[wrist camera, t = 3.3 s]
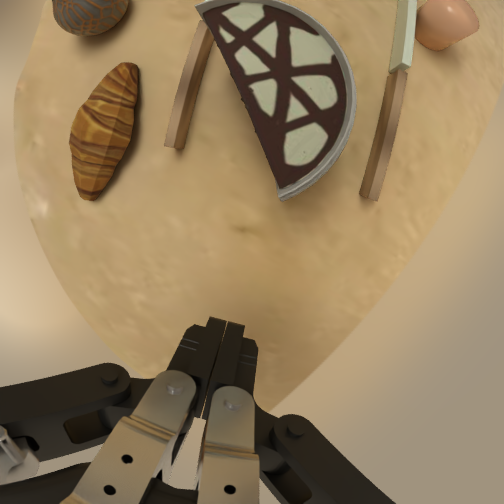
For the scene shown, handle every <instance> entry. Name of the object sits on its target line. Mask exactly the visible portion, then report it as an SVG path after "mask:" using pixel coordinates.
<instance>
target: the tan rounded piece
mask: <svg viewBox="0 0 504 504" xmlns="http://www.w3.org/2000/svg"><path fill="white" fill-rule="evenodd" d="M478 29H479V21H478V18H477V16H476V14H475V12H474V10H473V9H472V8H471V6H470V5H469V4H468V3H467V2H466V1H465V0H428V1H427V2H425V3H424V4H423V5H422V6H421V7H420V8H419V9H418V10H417V11H416V25H415V38H416V39H417V40H418V41H419V42H420V43H421V44H422V45H424V46H425V47H427V48H429V49H431V50H435V51H440V50H443V49H445V48H446V47H448V46H450V45H452V44H454V43H456V42H458V41H460V40H461V39H463V38H465V37H467V36H469V35H471V34H473V33H475V32H477V31H478Z"/></svg>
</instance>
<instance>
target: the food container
mask: <svg viewBox="0 0 504 504" xmlns="http://www.w3.org/2000/svg"><path fill="white" fill-rule="evenodd" d="M194 6H195V8H196V9H197V11H198V12H199V14H200V16H201V17H202V19H203V21H204V22H205V24H206V26H207V27H208V29H209V31H210V32H211V34H212V36H213V37H214V40H215V41H216V43H217V46H218V48H219V49H220V51H221V53H222V55H223V57H224V59H225V61H226V64H227V66H228V68H229V70H230V74H231V76H232V78H233V79H234V81H235V83H236V85H237V88H238V90H239V92H240V94H241V97H242V98H241V100H242V101H243V102H244V103H245V107H246V109H247V110H248V113H249V115H250V117H251V120H252V122H253V125H254V127H255V132H256V133H257V135H258V137H259V140H260V142H261V145H262V147H263V150H264V152H265V155H266V158H267V160H268V162H269V165H270V167H271V169H272V172H273V174H274V177H275V180H276V186H277V192H278V197H279V198H280V201H282V202H283V201H285V200H287V199H289V198H291V197H294V196H296V195H298V194H300V193H301V192H303V191H304V190H306V189H307V188H309V187H310V186H312V185H313V184H314V183H316V182H317V181H318V180H319V179H320V178H321V177H322V176H323V175H325V174H326V173H327V172H328V170H329V169H330V168H331V167H332V165H333V164H334V163H335V162H336V160H337V159H338V158H339V156H340V154H341V152H342V151H343V149H344V147H345V145H346V143H347V141H348V138H349V135H350V132H351V130H352V127H353V124H354V118H355V112H356V86H355V81H354V76H353V72H352V69H351V66H350V64H349V61H348V59H347V56H346V55H345V53H344V51H343V50H342V48H341V47H340V45H339V43H338V42H337V41H336V40H335V38H334V37H333V36H332V35H331V34H330V33H329V31H328V30H327V29H326V28H325V27H324V26H323V25H322V24H320V23H319V22H318V21H317V20H316V19H314V18H313V17H312V16H310V15H309V14H307V13H305V12H304V11H302V10H300V9H298V8H297V7H295V6H292V5H290V4H287V3H284V2H282V1H279V0H208V1H205V2H202V3H200V4H197V5H194Z"/></svg>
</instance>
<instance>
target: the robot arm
mask: <svg viewBox="0 0 504 504" xmlns="http://www.w3.org/2000/svg"><path fill="white" fill-rule="evenodd" d="M226 322H227V321H225V320H222V319H218V318H214V317H211V316H210V317H209V320H208V322H207V325H206V327H203V326H199V325H196V324H194V325H193V326H191V327H190V328H188V329H187V330H186V332H185V334H184V336H183V338H182V340H181V342H180V344H179V346H178V348H177V350H176V352H175V354H174V356H173V358H172V360H171V362H170V364H169V366H168V368H167V370H166V371H164V372H161V373H160V374H158V375H157V376H156V378H152V379H139V378H130V376H129V373H128V372H127V371H126V370H125V369H124V368H123V367H121V366H120V365H117V364H113V363H103V364H99V365H95V366H91V367H88V368H84V369H80V370H76V371H72V372H68V373H64V374H60V375H56V376H52V377H48V378H44V379H39V380H34V381H30V382H25V383H20V384H15V385H10V386H5V387H0V504H259V478H260V479H261V480H262V481H263V483H264V484H265V485H266V486H267V488H268V489H269V490H270V491H271V493H272V494H273V495H274V496H275V497H276V498H277V500H278V501H279V502H280V503H281V504H396V503H394V502H393V501H392V500H391V499H390V498H389V497H388V496H386V495H385V494H384V493H383V492H382V491H381V490H380V489H378V488H377V487H376V486H375V485H374V484H373V483H372V482H371V481H370V480H369V479H367V478H366V477H365V476H364V475H363V474H362V473H361V472H360V471H359V470H358V469H357V468H356V467H355V466H354V465H352V464H351V463H350V462H349V461H348V460H347V459H346V458H345V457H344V456H343V455H342V454H341V453H340V452H339V451H338V450H337V449H336V448H335V447H334V446H333V445H332V444H331V443H330V442H329V441H328V440H327V439H326V438H325V437H324V436H323V435H322V434H321V433H320V432H319V430H318V429H316V427H315V426H314V425H313V424H312V423H311V422H310V421H309V420H307V419H306V418H304V417H302V416H299V415H295V414H288V415H284V416H282V417H280V418H277V417H275V416H273V415H271V414H269V413H267V412H265V411H263V410H262V409H261V408H260V407H259V406H258V405H257V404H256V402H255V400H254V397H253V390H254V382H255V373H256V365H257V356H258V347H257V345H256V343H255V340H252V339H248V338H244V337H243V333H244V328H245V325H241V324H237V323H233V322H229V321H228V324H227V327H226ZM225 327H226V330H225ZM224 331H225V334H224ZM223 335H224V337H223ZM222 339H223V340H222ZM221 343H222V344H221ZM206 396H207V398H206ZM205 399H206V402H205ZM204 403H205V406H204ZM203 406H204V411H203V415H202V419H205V420H206V424H205V428H204V432H203V436H202V442H201V447H200V453H199V459H198V465H197V472H196V477H195V483H194V488H193V490H187V489H177V488H174V487H172V486H170V485H168V482H169V479H170V476H171V473H172V469H173V467H174V465H175V462H176V460H177V458H178V456H179V453H180V451H181V449H182V446H183V444H184V442H185V439H186V437H187V435H188V432H189V429H190V428H191V425H192V422H193V419H194V417H197V418H200V416H201V413H202V410H203ZM103 443H104V444H103ZM100 444H103V446H102V447H101V449H100V450H99V452H98V453H97V455H96V456H95V458H94V460H93V461H92V462H88V463H80V464H76V465H73V466H70V467H67V468H64V469H61V470H57V471H55V472H51V473H48V474H44V475H41V476H37V477H33V478H29V477H32V476H34V475H36V473H37V471H38V469H39V462H42V461H46V460H50V459H54V458H58V457H61V456H65V455H69V454H72V453H75V452H79V451H82V450H85V449H88V448H91V447H94V446H97V445H100ZM27 478H29V479H27Z"/></svg>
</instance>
